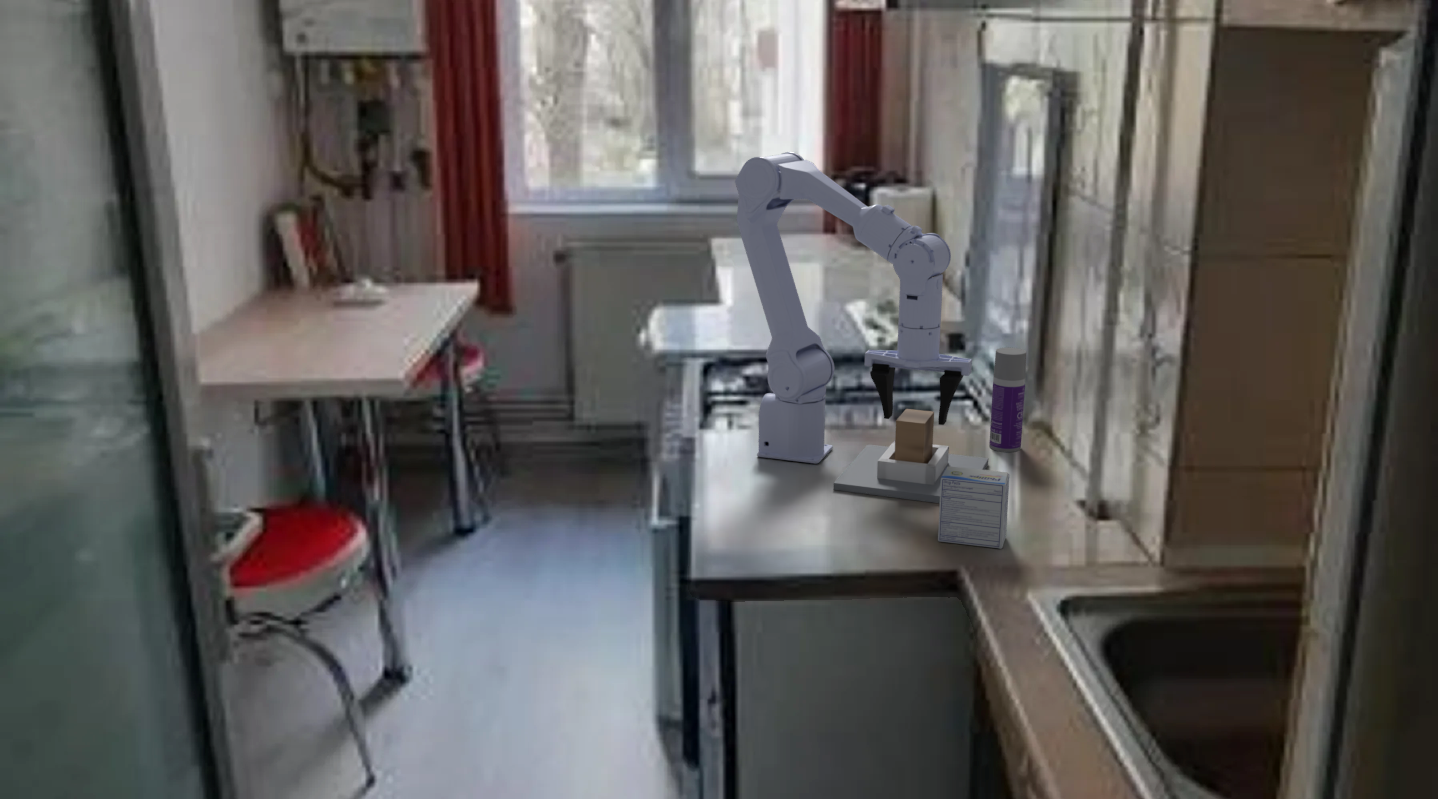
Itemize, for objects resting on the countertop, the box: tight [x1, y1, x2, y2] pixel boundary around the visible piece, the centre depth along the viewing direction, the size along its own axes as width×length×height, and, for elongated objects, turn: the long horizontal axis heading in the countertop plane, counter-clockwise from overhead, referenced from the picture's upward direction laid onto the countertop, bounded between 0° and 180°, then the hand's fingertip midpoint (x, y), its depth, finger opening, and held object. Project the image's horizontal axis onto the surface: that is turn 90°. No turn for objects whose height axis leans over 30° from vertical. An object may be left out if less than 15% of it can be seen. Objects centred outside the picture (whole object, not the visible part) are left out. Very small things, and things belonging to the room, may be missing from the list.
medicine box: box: [937, 466, 1011, 550], centre depth 156 cm, size 8×4×9 cm, turn 71°
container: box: [988, 346, 1027, 453], centre depth 190 cm, size 5×5×15 cm
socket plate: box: [833, 439, 989, 504], centre depth 179 cm, size 18×18×4 cm
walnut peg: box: [894, 408, 935, 464], centre depth 178 cm, size 6×4×8 cm, turn 159°
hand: (915, 419), depth 177 cm, fingers open, 7 cm apart
